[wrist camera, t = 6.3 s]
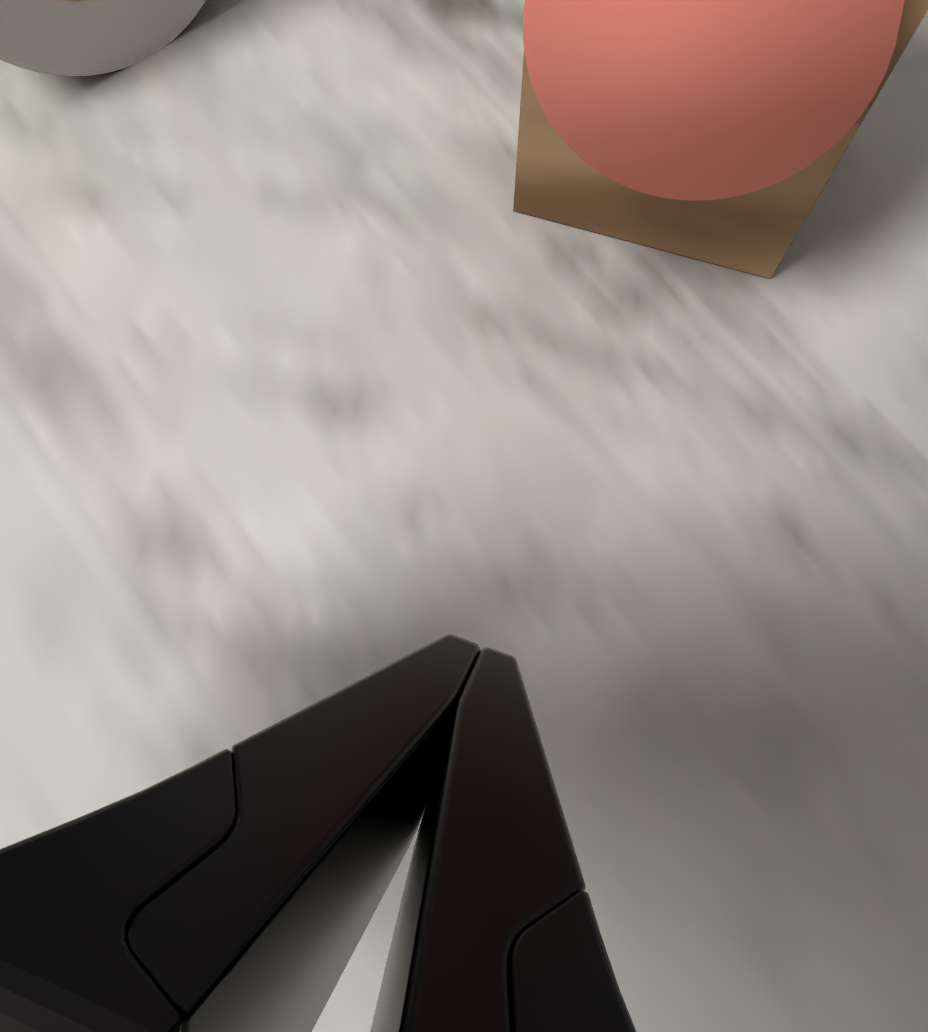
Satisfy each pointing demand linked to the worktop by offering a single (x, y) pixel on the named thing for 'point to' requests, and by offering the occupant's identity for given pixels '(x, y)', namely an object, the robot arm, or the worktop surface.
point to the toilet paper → (88, 33)
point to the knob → (705, 85)
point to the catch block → (669, 222)
